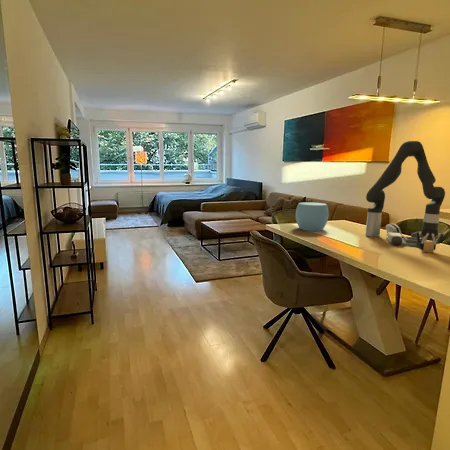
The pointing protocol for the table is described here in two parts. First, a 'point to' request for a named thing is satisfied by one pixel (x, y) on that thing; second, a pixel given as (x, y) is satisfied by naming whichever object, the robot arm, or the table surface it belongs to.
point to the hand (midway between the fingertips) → (427, 249)
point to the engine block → (428, 246)
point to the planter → (312, 216)
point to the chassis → (397, 239)
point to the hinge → (393, 228)
